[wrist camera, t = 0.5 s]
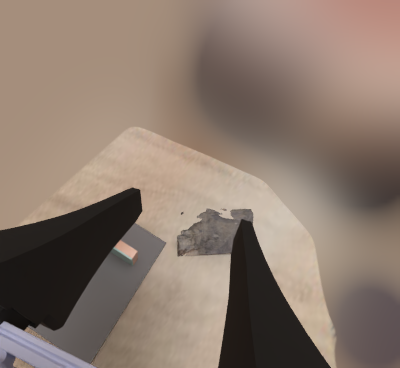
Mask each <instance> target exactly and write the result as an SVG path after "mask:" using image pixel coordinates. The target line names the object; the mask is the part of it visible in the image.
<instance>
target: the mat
mask: <svg viewBox="0 0 400 368" xmlns="http://www.w3.org/2000/svg"><path fill="white" fill-rule="evenodd" d="M121 241H122V242H124V243H126V244H127V245H129V246H130V247H132V248H133V249H135V250H137V251H138V259H137V261H136V262H135V264H134V265H133V266H132V265H130V264H128V263H127V262H125V261H124V260H122V259H121V258H119V257H118V256H116V255H114V254H113V253H111V252H110V253H109V254H108V256H107V257H106V259H105V260H104V261H103V263H102V264H101V266H100V267H99V269H98V270H97V272H96V273H95V275H94V276H93V278H92V279H91V281H90V282H89V284H88V285H87V287H86V289H85V290H84V292H83V293H82V295H81V297H80V298H79V300H78V302H77V303H76V305H75V307H74V308H73V310H72V312H71V314H70V315H69V317H68V319H67V321H66V322H65V324H64V326H63V327H62V328H60V329H58V330H56V331H53V330H51V329H49V328H47V327H45V326H43V325H41V324H39V326H38V327H37V328H33V327H31V326H28V327H29V328H30V329H32V330H33V331H35V332H36V333H38V334H39V335H41V336H42V337H44V338H45V339H47V340H48V341H50V342H51V343H53V344H54V345H56V346H57V347H59V348H60V349H62V350H63V351H65V352H67V353H69V354H71V355H73V356H75V357H77V358H79V359H81V360H83V361H85V362H87V363H89V364H90V363H91V362H92V360H93V359H94V357H95V356H96V354H97V352H98V351H99V349H100V348H101V346H102V344H103V343H104V341H105V340H106V338H107V336H108V335H109V333H110V332H111V330H112V328H113V327H114V325H115V324H116V322H117V321H118V319H119V317H120V316H121V314H122V313H123V311H124V309H125V308H126V306H127V305H128V303H129V301H130V300H131V298H132V297H133V295H134V293H135V292H136V290H137V289H138V287H139V286H140V284H141V282H142V281H143V279H144V278H145V276H146V274H147V273H148V271H149V270H150V268H151V266H152V265H153V263H154V262H155V260H156V258H157V257H158V255H159V254H160V252H161V251H162V249H163V247H164V246H165V244H166V242H164V241H162V240H161V239H159V238H158V237H156V236H155V235H153V234H151V233H150V232H148V231H147V230H145V229H143V228H142V227H140V226H139V225H137V224H136V223H134V224H133V226H132V227H131V228H130V229H129V230H128V232H127V233H126V234H125V235H124V236H123V237H122V239H121Z"/></svg>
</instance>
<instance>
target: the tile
mask: <svg viewBox="0 0 400 368" xmlns="http://www.w3.org/2000/svg"><path fill="white" fill-rule="evenodd" d="M111 253H113V254H114V255H116V256H118V257H119V258H121V259H122V260H124V261H125V262H127V263H128V264H130V265H132V266H133V265H134V264H135V262H136V261H137V259H138V251H137V250H135V249H133V248H132V247H130V246H129V245H127V244H126V243H124V242H122V241H121V240H120V241H119V242H118V243H117V244H116V246H115V247H114V248H113V249H112V251H111Z"/></svg>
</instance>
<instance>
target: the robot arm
mask: <svg viewBox="0 0 400 368" xmlns="http://www.w3.org/2000/svg"><path fill="white" fill-rule="evenodd" d="M141 212H142V203H141V194H140V190H139V189H136V188H130V189H128V190H125V191H123V192H121V193H118V194H116V195H114V196H112V197H109V198H107V199H105V200H102V201H100V202H97V203H95V204H92V205H90V206H87V207H85V208H82V209H80V210H77V211H74V212H71V213H68V214H65V215H62V216H58V217H55V218H51V219H48V220H44V221H40V222H36V223H33V224H28V225H24V226H20V227H15V228H10V229H5V230H0V368H16V367H13V363H14V361H15V357H17V358H19V359H21V360H22V361H24V362H26V363H28V364H30V365H32V366H34V367H35V368H97V367H95V366H93V365H91V364H89V363H87V362H85V361H83V360H81V359H79V358H77V357H75V356H73V355H71V354H69V353H67V352H65V351H63V350H61V349H59V348H57V347H55V346H53V345H51V344H49V343H47V342H45V341H43V340H41V339H39V338H37V337H35V336H33V335H31V334H29V333H27V332H25V331H24V330H25V329H26V328H27V327H28V326H31V327H33V328H37V327H38V326H39V324H41V325H43V326H45V327H47V328H49V329H51V330H53V331H56V330H58V329H60V328H62V327H63V326H64V324H65V322H66V321H67V319H68V317H69V315H70V314H71V312H72V310H73V308H74V307H75V305H76V303H77V302H78V300H79V298H80V297H81V295H82V293H83V292H84V290H85V289H86V287H87V285H88V284H89V282H90V281H91V279H92V278H93V276H94V275H95V273H96V272H97V270H98V269H99V267H100V266H101V264H102V263H103V261H104V260H105V259H106V257H107V256H108V254H109V253H110V252H111V251H112V249H113V248H114V247H115V246H116V244H117V243H118V242H119V241H120V240H121V239H122V237H123V236H124V235H125V234H126V233H127V232H128V230H129V229H130V228H131V227H132V226H133V224H134V223H135V222H136V220H137V219H138V217H139V215H140V214H141ZM218 368H331V367H330V366H329V364H328V363H327V362H326V360H325V359H324V357H323V356H322V355H321V353H320V352H319V350H318V349H317V347H316V346H315V344H314V343H313V341H312V340H311V339H310V337H309V336H308V334H307V333H306V331H305V329H304V328H303V326H302V325H301V323H300V322H299V320H298V318H297V317H296V315H295V314H294V312H293V310H292V309H291V307H290V306H289V304H288V302H287V300H286V299H285V297H284V295H283V294H282V292H281V290H280V288H279V286H278V284H277V282H276V281H275V279H274V277H273V275H272V273H271V270H270V268H269V266H268V264H267V262H266V260H265V257H264V255H263V252H262V250H261V247H260V245H259V242H258V240H257V237H256V234H255V231H254V228H253V224H252V222H251V221H247V220H244V219H241V222H240V224H239V227H238V229H237V232H236V234H235V237H234V239H233V245H232V252H231V265H230V285H229V299H228V306H227V314H226V321H225V328H224V334H223V341H222V347H221V354H220V360H219V366H218Z"/></svg>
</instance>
